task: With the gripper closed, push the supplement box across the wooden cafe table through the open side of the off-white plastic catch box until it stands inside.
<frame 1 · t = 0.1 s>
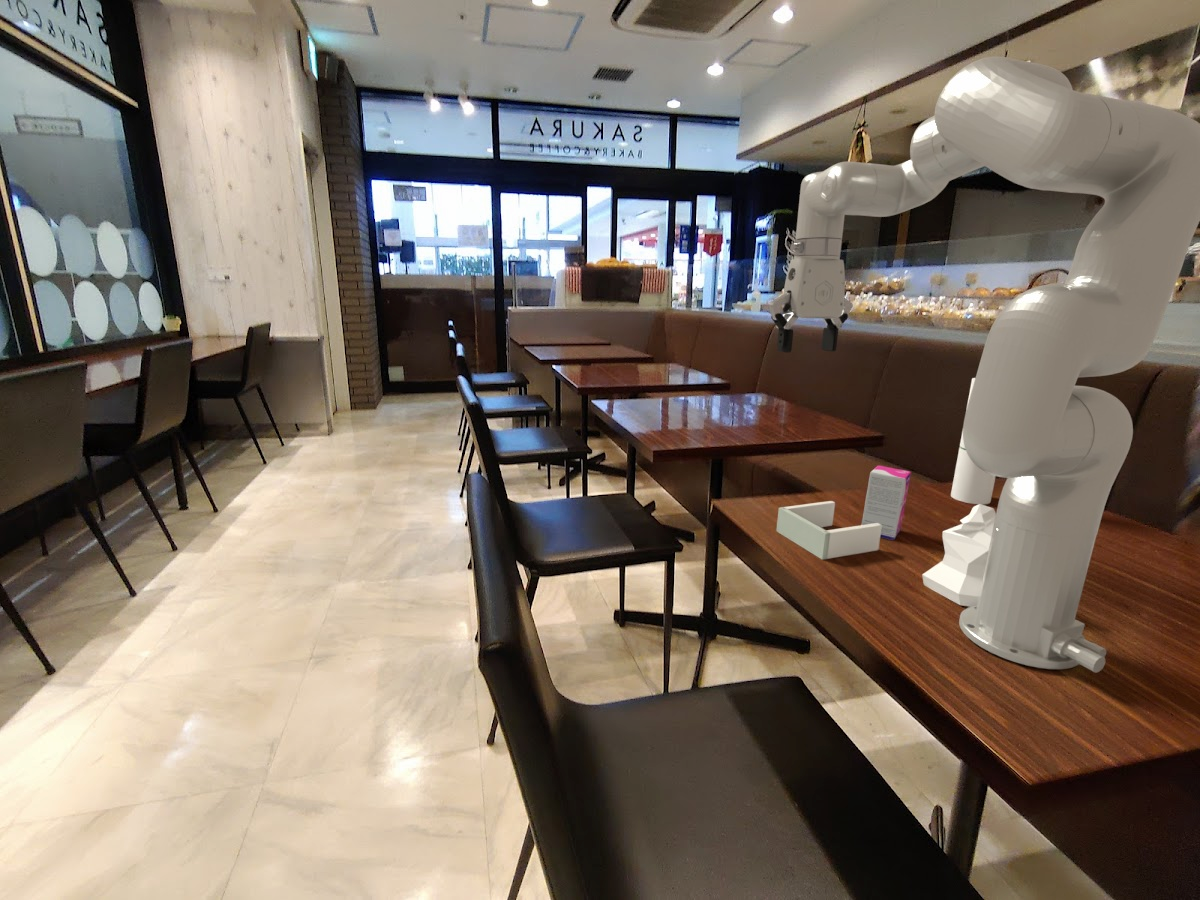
hand: (806, 351, 105), 31 cm above the table, tool pointing down, fingers open, 9 cm apart
cylindrical container: (970, 499, 122), on the table
catch box: (826, 540, 100), on the table
soft serve ice cream: (977, 595, 83), on the table
supplement box: (880, 532, 104), on the table
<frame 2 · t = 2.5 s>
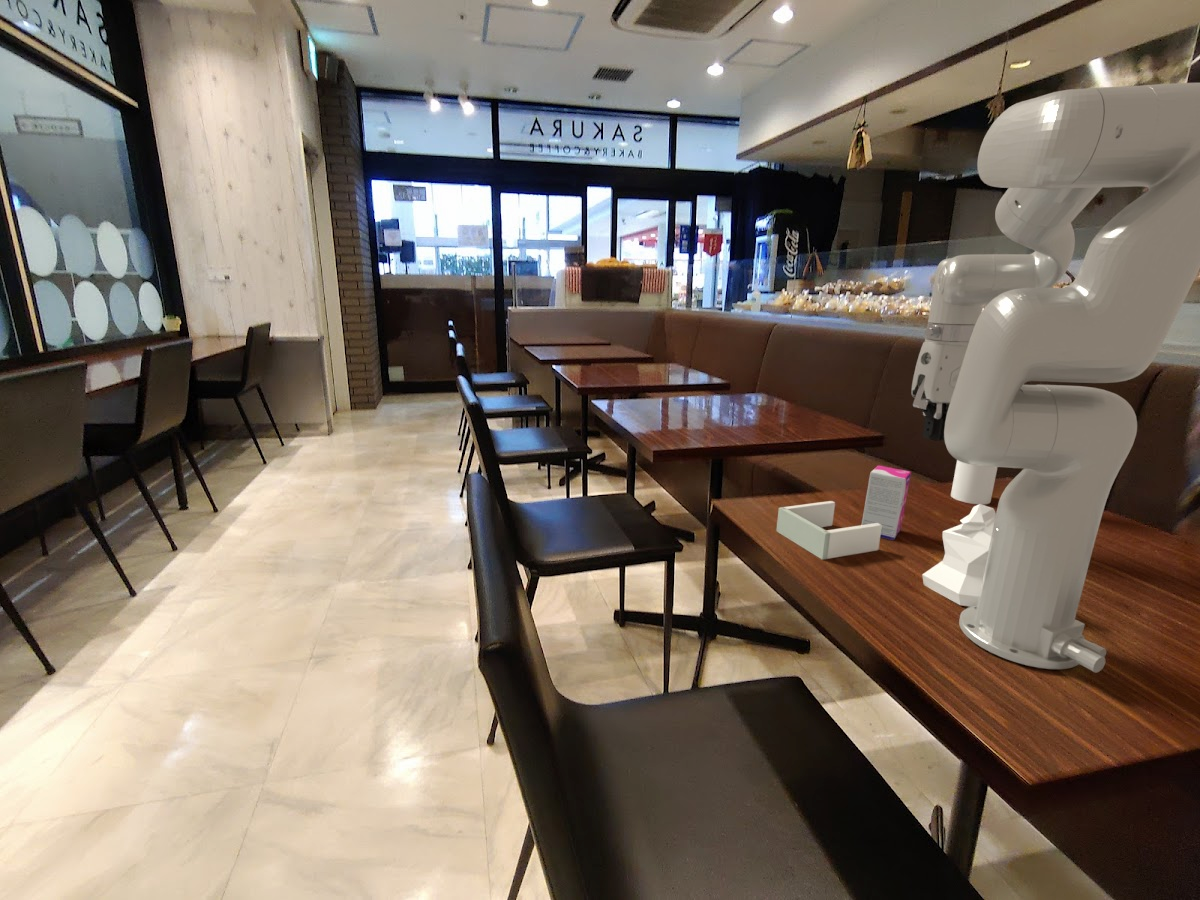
hand: (932, 438, 103), 16 cm above the table, tool pointing down, fingers closed
nothing on the table moved.
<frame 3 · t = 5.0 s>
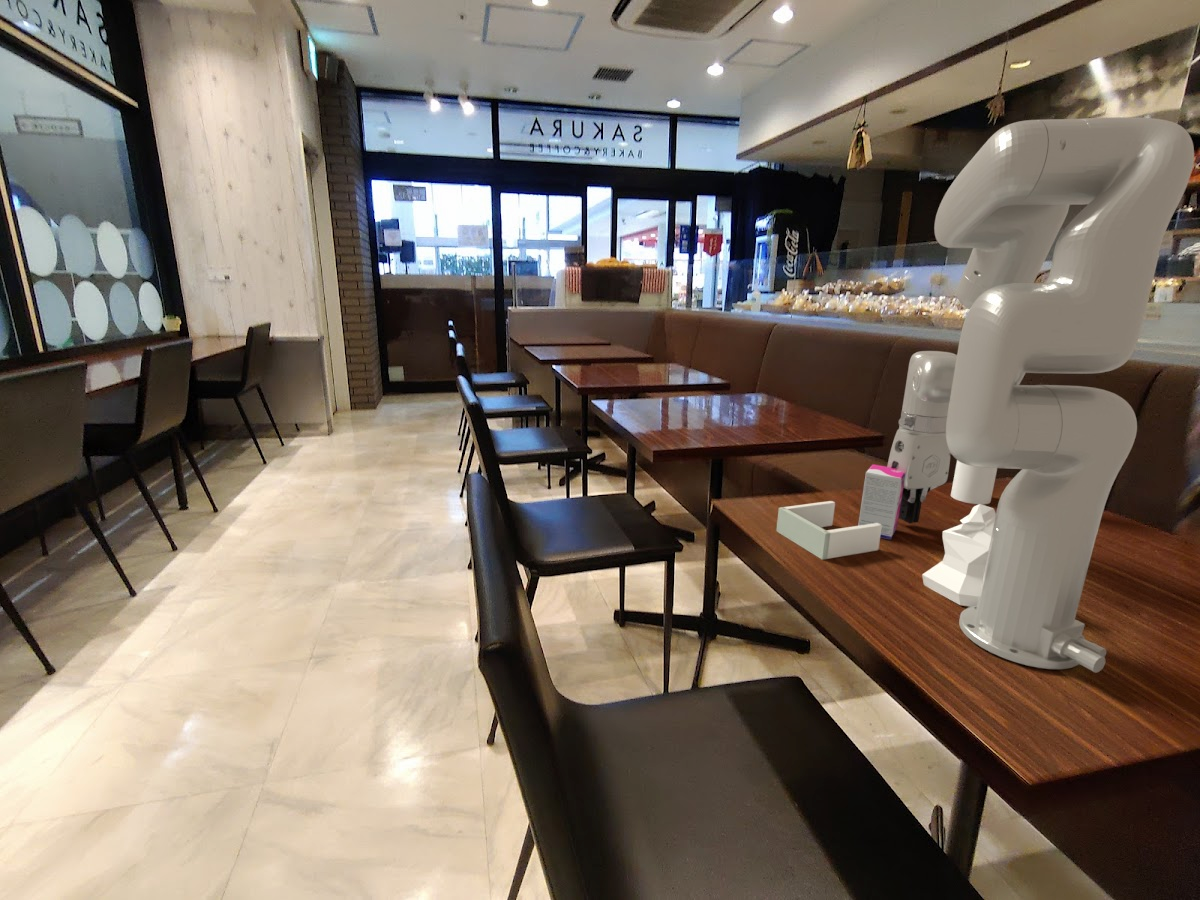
hand: (907, 520, 106), 1 cm above the table, tool pointing down, fingers closed
supplement box: (877, 531, 105), on the table, touching gripper
everything else where it was.
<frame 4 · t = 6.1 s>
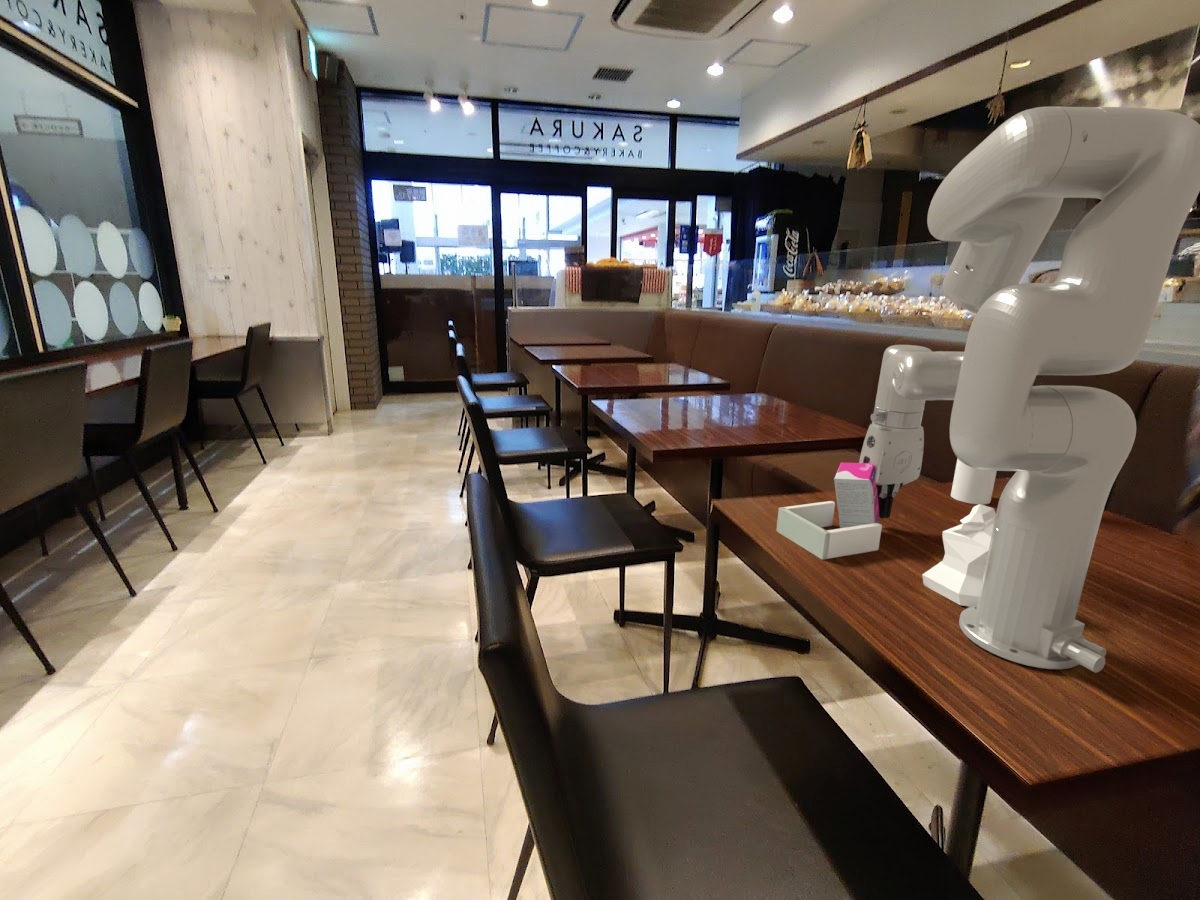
hand: (879, 515, 106), 2 cm above the table, tool pointing down, fingers closed
supplement box: (860, 525, 104), point 1 cm above the table, touching gripper
everything else where it was.
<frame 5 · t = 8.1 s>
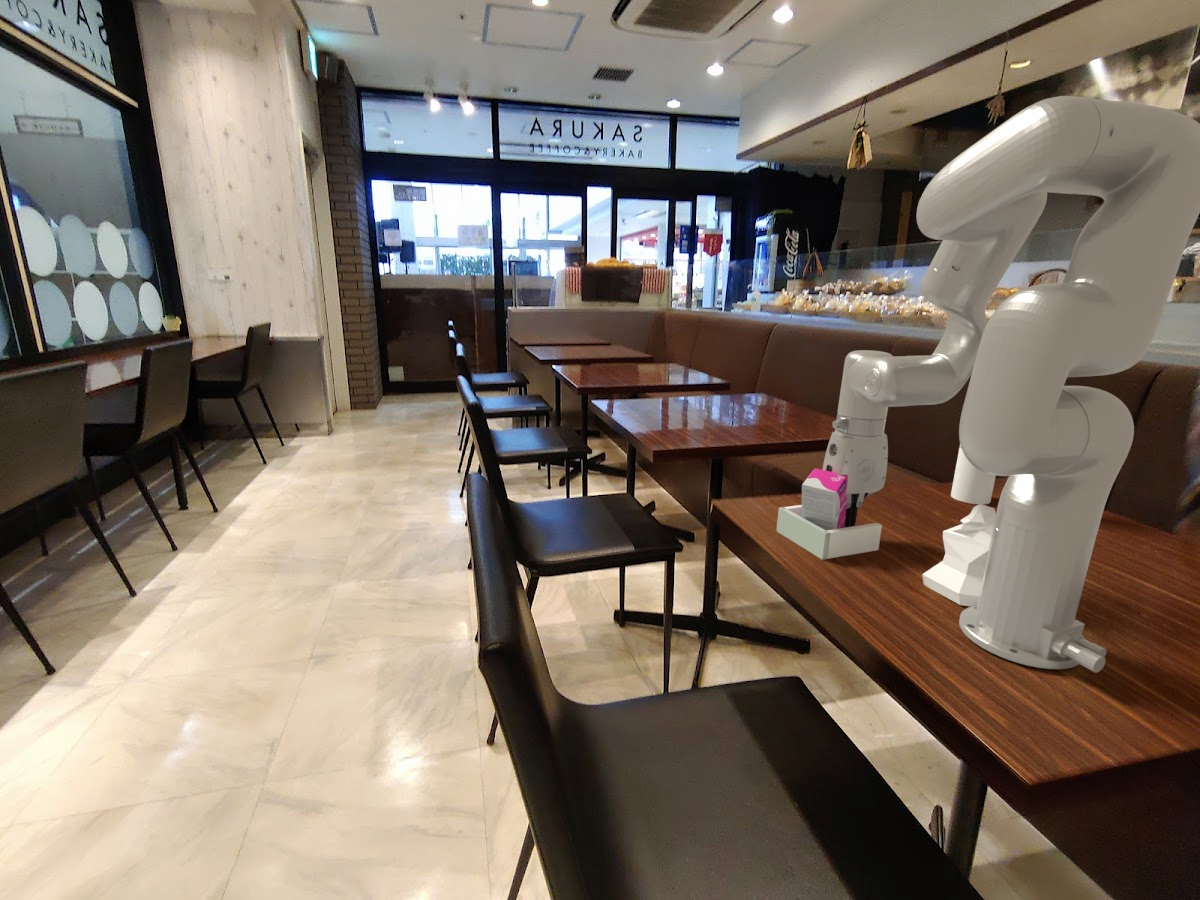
hand: (844, 526, 102), 2 cm above the table, tool pointing down, fingers closed
supplement box: (823, 534, 101), point 1 cm above the table, touching catch box, gripper
everything else where it was.
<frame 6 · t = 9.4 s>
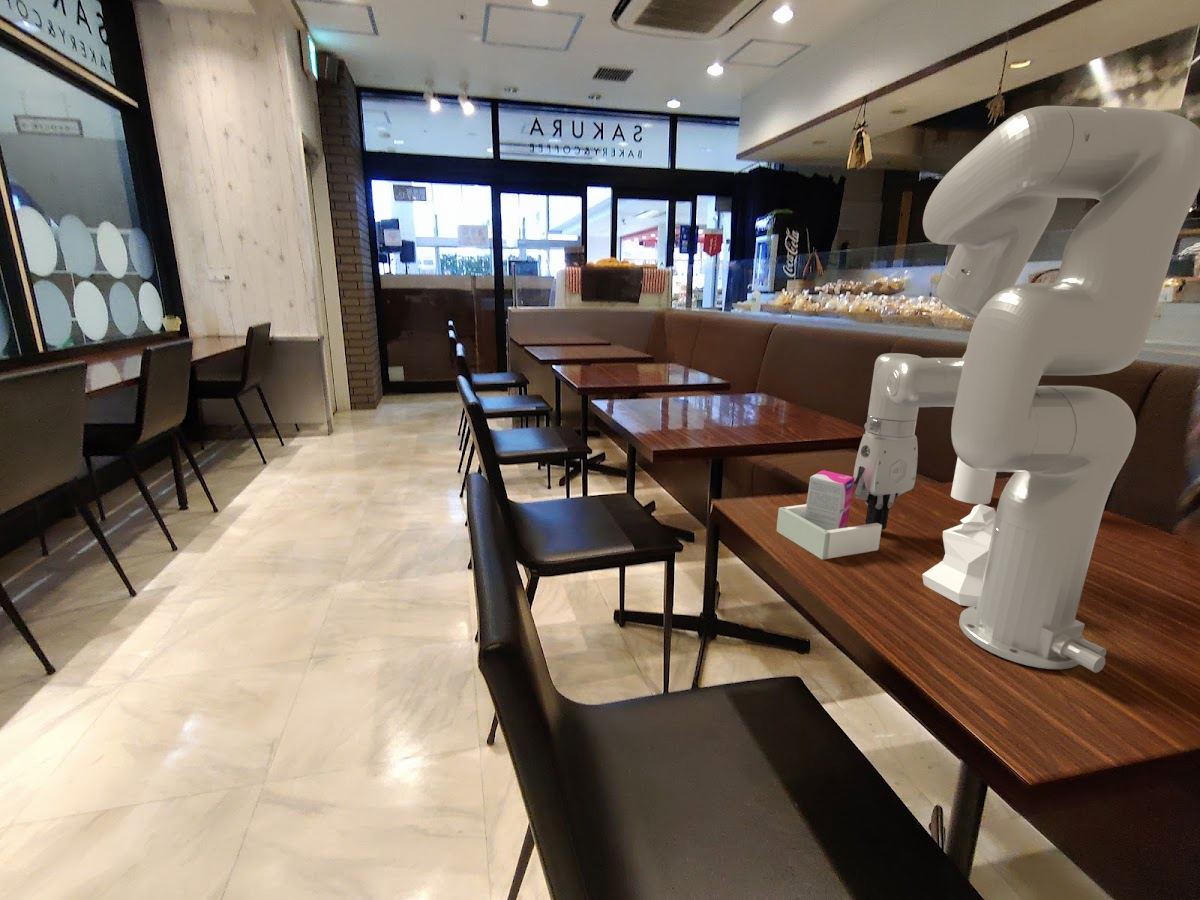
hand: (875, 526, 104), 1 cm above the table, tool pointing down, fingers closed
supplement box: (823, 539, 101), on the table
everything else where it was.
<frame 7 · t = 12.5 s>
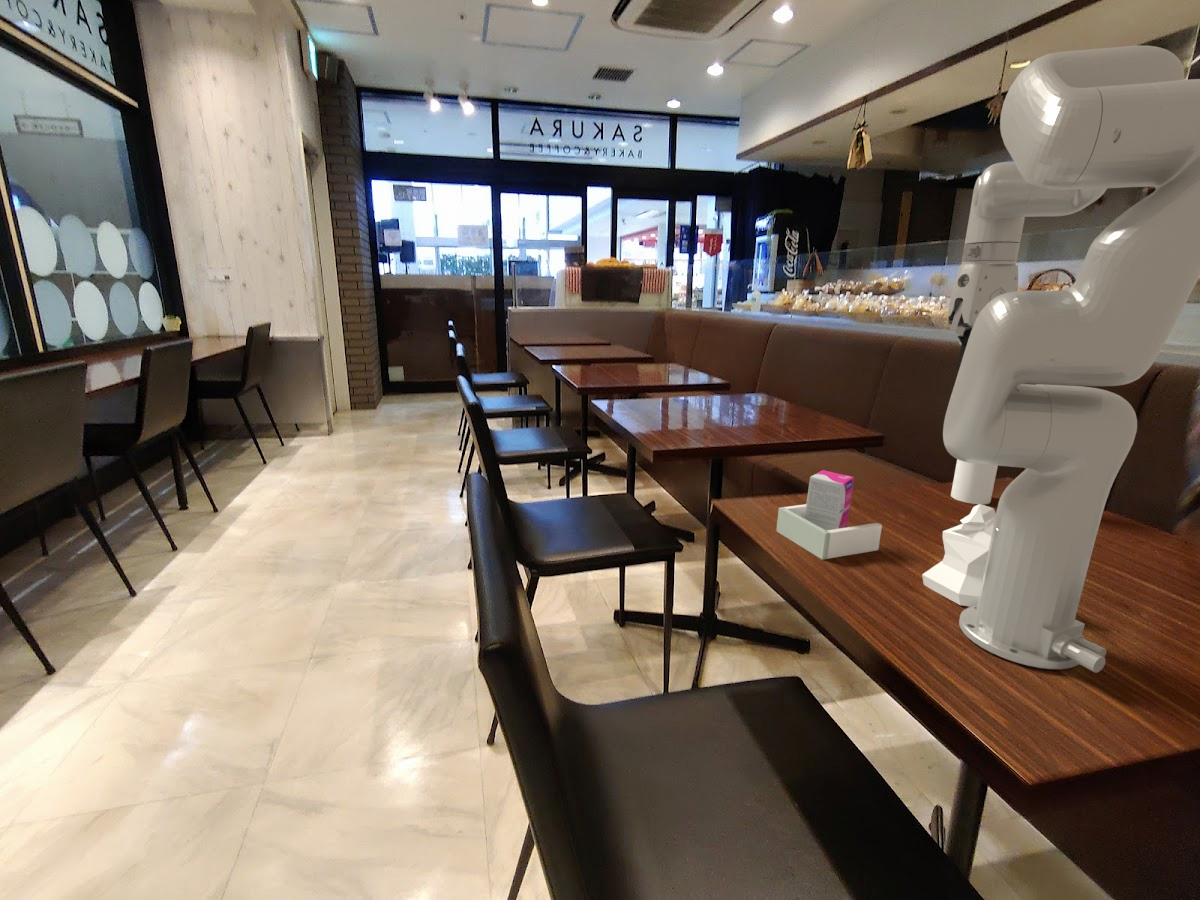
hand: (969, 369, 99), 29 cm above the table, tool pointing down, fingers closed
nothing on the table moved.
at the end: supplement box 1.3 cm from the target spot on the catch box, point 0.0 cm above the catch box's base; supplement box tilted 0° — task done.
